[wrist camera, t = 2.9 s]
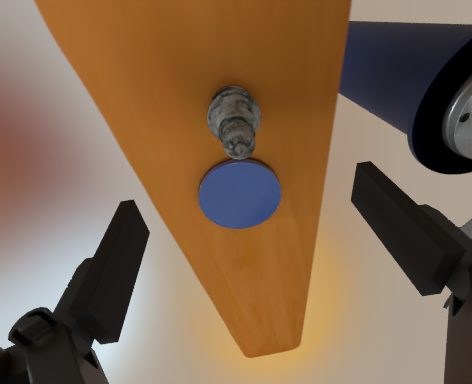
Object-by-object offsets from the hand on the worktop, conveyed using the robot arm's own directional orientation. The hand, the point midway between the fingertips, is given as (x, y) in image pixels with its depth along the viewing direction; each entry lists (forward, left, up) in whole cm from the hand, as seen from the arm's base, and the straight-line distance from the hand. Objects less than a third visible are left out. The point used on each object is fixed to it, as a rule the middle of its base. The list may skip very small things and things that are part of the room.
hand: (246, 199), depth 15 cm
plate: (-8, +9, -18) cm, 22 cm away
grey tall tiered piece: (0, 0, -18) cm, 18 cm away
